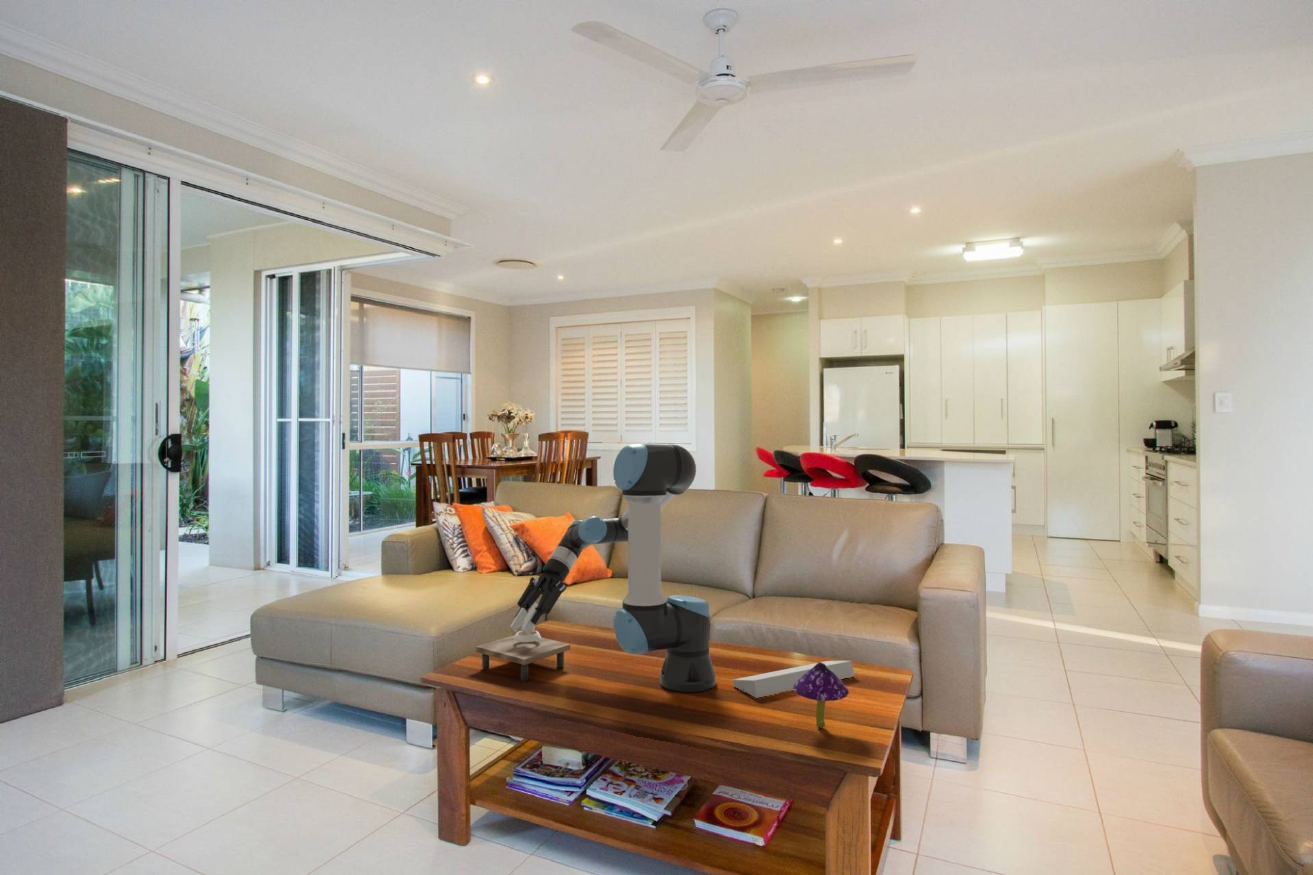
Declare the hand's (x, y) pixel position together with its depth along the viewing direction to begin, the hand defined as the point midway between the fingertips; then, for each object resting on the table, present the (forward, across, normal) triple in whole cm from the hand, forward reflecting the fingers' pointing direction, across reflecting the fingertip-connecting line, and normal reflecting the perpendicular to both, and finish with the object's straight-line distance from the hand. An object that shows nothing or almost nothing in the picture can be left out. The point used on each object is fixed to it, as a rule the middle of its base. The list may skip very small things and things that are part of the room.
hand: (519, 630), depth 199 cm
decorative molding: (-18, -68, -36) cm, 79 cm away
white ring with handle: (0, +1, -5) cm, 5 cm away
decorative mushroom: (-1, -86, -17) cm, 88 cm away
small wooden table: (+7, 0, -9) cm, 11 cm away
